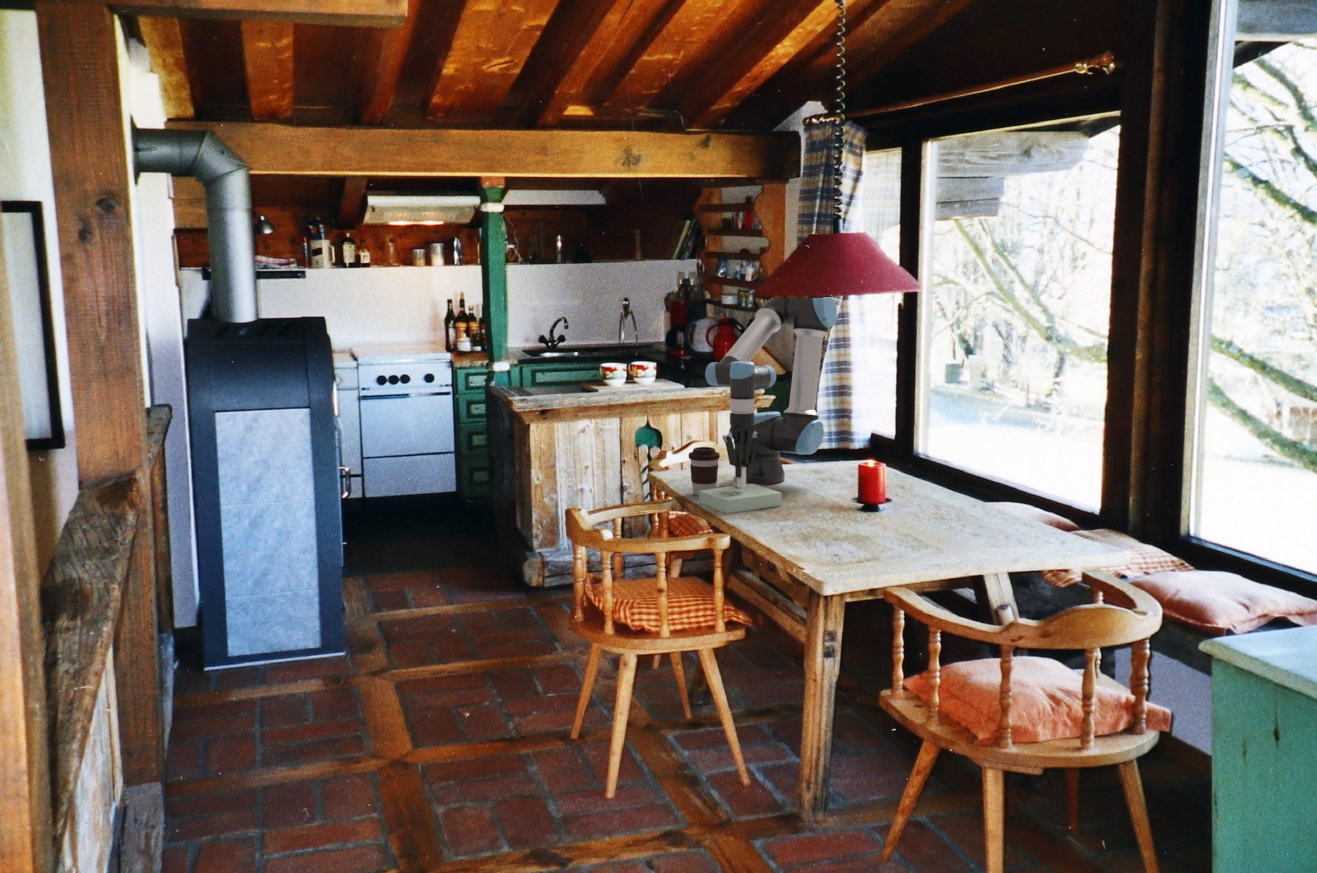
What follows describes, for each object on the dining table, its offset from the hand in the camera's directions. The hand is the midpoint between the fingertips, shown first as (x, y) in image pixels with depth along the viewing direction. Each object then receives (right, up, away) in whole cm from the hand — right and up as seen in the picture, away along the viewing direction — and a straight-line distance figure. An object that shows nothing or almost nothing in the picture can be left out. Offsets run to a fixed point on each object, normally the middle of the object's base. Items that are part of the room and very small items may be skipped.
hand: (741, 487), depth 354 cm
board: (0, -5, +1) cm, 5 cm away
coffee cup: (-11, -3, +15) cm, 19 cm away
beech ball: (-1, +2, +6) cm, 7 cm away
